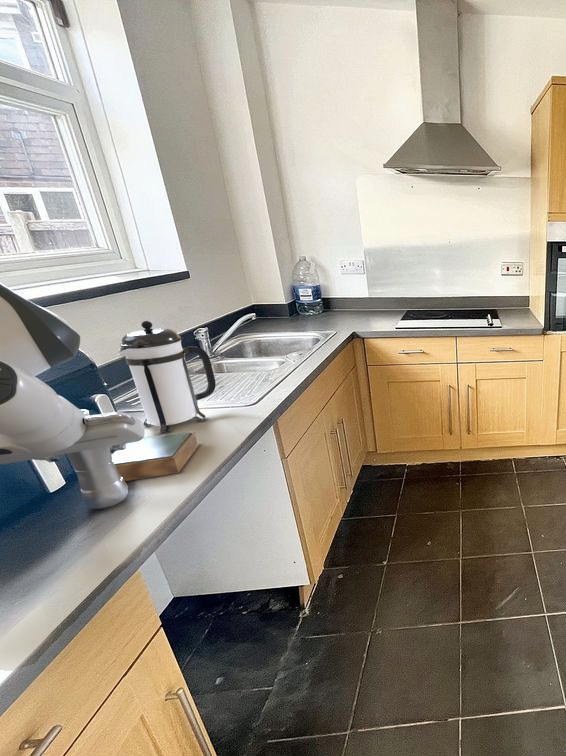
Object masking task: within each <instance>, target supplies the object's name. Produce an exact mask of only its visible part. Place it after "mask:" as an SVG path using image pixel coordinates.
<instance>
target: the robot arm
mask: <svg viewBox="0 0 566 756" xmlns="http://www.w3.org/2000/svg"><path fill="white" fill-rule="evenodd" d="M80 345H81V335H80V334H79V333H78V332H77V330H76V329H75V328H74V327H73V326H72V324H71V323H69V322H68V321H67V320H65V319H64V318H63V317H61V316H60V315H58V314H56V313H54V312H52V311H51V310H49V309H47V308H45V307H42V306H40V305H38V304H36V303H34V302H33V301H30V300H29V299H27V298H25V296H22V295H20V294H19V293H17V292H15V291H14V290H12V289H11V288H9V287H8V286H6V285H4V284H3V283H1V282H0V465H10V464H15V463H21V462H26V461H32V460H34V461H46V462H48V463H55V462H60V461H62V459H63V458H62V456H63V455H65V454H68V453H73V452H79V451H85V450H91V449H97V448H103V447H108V446H110V447H112V449H113V450H115V451H117V450H124V449H126V443H132V442H138V441H141V440H142V439H143V438H145V426H144V421H142V420H141V419H139V418H137V417H135V416H134V415H132V414H129V413H127V412H124V411H113V412H112V411H111V412H106V413H105V412H104V413H98V414H89V415H90V416H85V414H84V413H83V412H82V411H81V410H82V409H80V408H78V407H77V406H76V405H74V404H73V403H72V402H70V401H69V400H68V399H66V398H65V397H63V395H62V396H61V395H59V394H57V392H56V391H55V390H54V389H53V388H52V387H51V386H49V385H48V384H47V383H45V382H44V381H43V380H41V379H40V378H38V377H37V376H38V375H40V374H42V373H44V372H45V371H48V370H49V369H54V368H56V367H58V366H60V365H62V364H65V363H66V362H68V361H71V360H73V359H75V358H76V356H77V355H78V352H79V349H80ZM115 451H114V452H115Z"/></svg>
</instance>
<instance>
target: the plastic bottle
mask: <svg viewBox="0 0 566 756" xmlns="http://www.w3.org/2000/svg"><path fill="white" fill-rule="evenodd" d="M80 410H81V411H82V412H83V413H84V414H85V416H90V415H91V414H90V412H89V410H88V409H80ZM110 447H111V446H108V447H103V448H97V449H91V450H85V451H79V452H73V453H68V454H64V455H65V456H66V458H67V459H68V461H69V462H70V463H71V466H72V468H73V469H74V472H75V474H76V476H77V480H78V482H79V483H78V484H79V488H80V495H81V500H82V502H83V503H84V504H85V506H86V507H88V508H90V509H93V510H100V509H101V510H102V509H106V508H109V507H112V506H114V505H117V504H119V503H121V502H123V501H125V499H126V498H127V496H128V494H129V486H128V484H127V483H126V482H127V481H124V479H123V478H122V477H121V476H120V474H119V472H118V470H117V468H116V466H115V464H114V461H113V459H112V452H111V448H110Z"/></svg>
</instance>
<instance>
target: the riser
mask: <svg viewBox="0 0 566 756" xmlns="http://www.w3.org/2000/svg"><path fill="white" fill-rule="evenodd" d="M198 447H199V443H198V439H197V435H196V433H195V432H194V431H187V432H180V433H173V434H165V435H155V436H149V437H144V438H143V439H142V440H141V441H138V442H132V443H126V449H124V450H117V451H114V452H113V453H111V455H112V459H113V461H114V464H115V466H116V468H117V470H118V472H119V474H120V476H121V477H122V478H123V479H124V481H125V482H128V481H135V480H140V479H148V478H156V477H161V476H168V475H174V474H179V473H181V470H182V469H183V468H184V467H185V465H186V463H187V462H188V461H189V459H190V458H191V457H192V455H194V453H195V452H196V450H197V448H198Z"/></svg>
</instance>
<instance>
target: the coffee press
mask: <svg viewBox="0 0 566 756" xmlns="http://www.w3.org/2000/svg"><path fill="white" fill-rule="evenodd" d="M141 327H142V328H143V329H139V330H138V329H137V330H134V331H131V332H128V333H126V334H125V335H123V337H122V338H121V342H120V343H119V349H118V352H117V357H118V358H120V357H124V359H125V362H126V364H127V365H128V367H129V370H130V373H131V375H132V380H133V383H134V385H135V386H134V387H135V389H136V391H137V395H138V399H139V401H140V404H141V408H142V410H143V413H144V416H145V420H144V421H143V424H144V427H147V428H149V427H150V426H151V425H152V426H159V432H160V433H161V434H168V433H169V431H170V427H171V426H173V425H177V424H181V423H184V422H187V421H190V420H191V419H195V420H197V421H199V422H203V421H204V420H205V419H206V418H207V417H206V415H205V414H204V413H203V412H201V411H200V408H199V405H198V404H199V401H200V400H203V399H206V398H208V397H210V396H211V395H212V394H213V393H214V391H215V390H216V385H217V384H216V377H215V374H214V370H213V366H212V362H211V359H210V356H209V354H208V353H207V351H205V350H204V349H203V348H202V347H199V346H191V345H189V346H186V347H183V346H182V336H181V335H179V334H178V332H177V331H175V330H173V329H171V328H163V327H161V328H159V327H158V328H152V327H153V323H152V321H149V320H144V321H142V322H141ZM191 353H192V354H193V353H195V354H197V355H198V356H199V357H200V359H201V361H202V365H203V369H204V372H205V376H206V381H207V387H206V389H205V390H203V391H201V392H199V393H196V394H195V390H194V386H193V383H192V379H191V375H190V372H189V371H190V370H189V368H188V363H187V361H186V354H191ZM197 415H199V416H197Z"/></svg>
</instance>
